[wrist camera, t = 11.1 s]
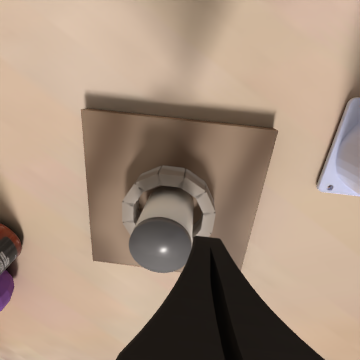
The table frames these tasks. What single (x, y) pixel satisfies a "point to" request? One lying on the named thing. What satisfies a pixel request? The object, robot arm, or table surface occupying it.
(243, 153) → the board with ring socket
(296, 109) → the table surface
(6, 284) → the kendama
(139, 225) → the plug
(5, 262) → the supplement bottle
